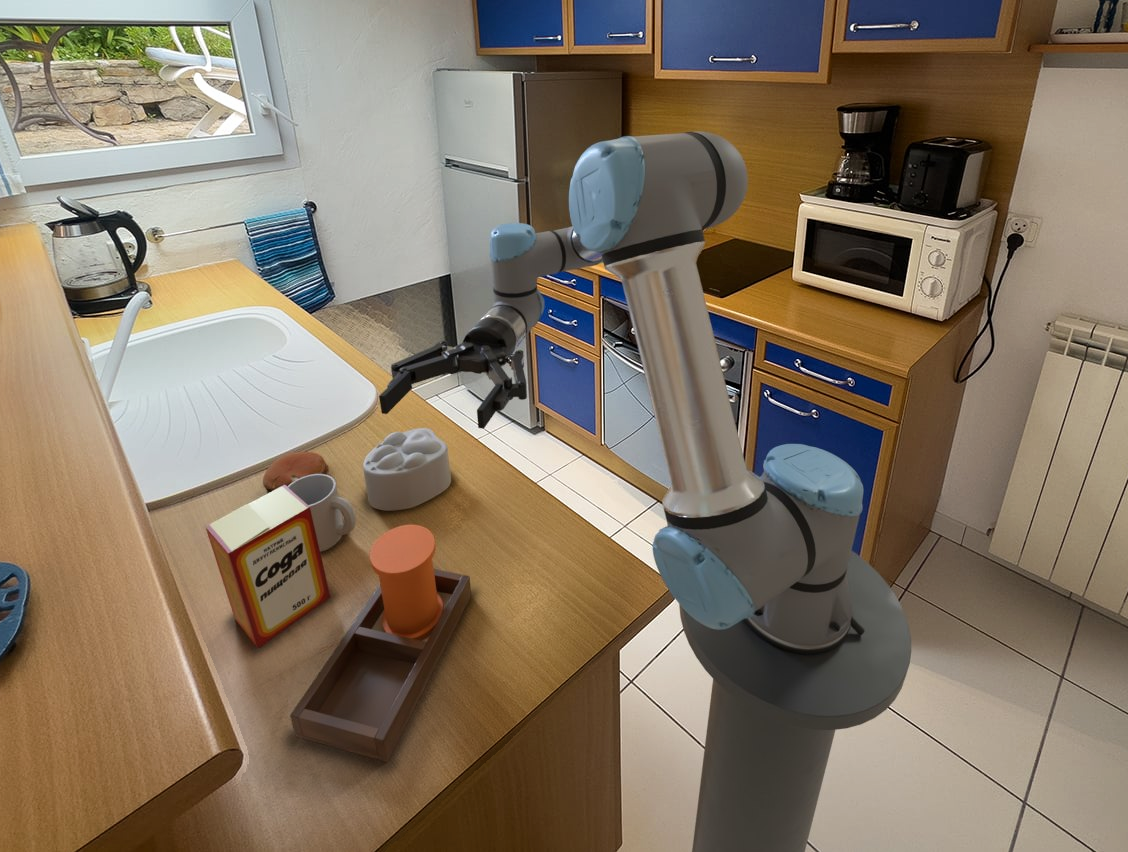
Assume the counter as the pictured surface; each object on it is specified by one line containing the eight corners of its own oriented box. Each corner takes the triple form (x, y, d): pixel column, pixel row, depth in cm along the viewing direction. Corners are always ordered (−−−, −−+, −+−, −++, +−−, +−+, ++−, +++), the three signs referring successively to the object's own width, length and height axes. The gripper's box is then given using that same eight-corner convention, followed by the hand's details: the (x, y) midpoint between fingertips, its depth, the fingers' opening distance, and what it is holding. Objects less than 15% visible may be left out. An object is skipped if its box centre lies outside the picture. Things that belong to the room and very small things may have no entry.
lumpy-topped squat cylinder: (457, 485, 102) (453, 443, 98) (383, 522, 93) (376, 478, 90) (429, 455, 109) (424, 415, 105) (357, 488, 101) (350, 446, 97)
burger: (314, 459, 107) (310, 438, 105) (339, 483, 102) (335, 461, 100) (256, 487, 100) (250, 465, 99) (279, 515, 95) (273, 492, 93)
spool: (453, 598, 80) (445, 530, 75) (426, 650, 73) (415, 578, 69) (402, 587, 81) (391, 519, 77) (370, 637, 75) (356, 566, 70)
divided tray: (471, 595, 81) (469, 575, 80) (387, 762, 63) (382, 740, 61) (398, 580, 84) (395, 560, 82) (295, 736, 65) (289, 715, 63)
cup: (310, 517, 94) (300, 471, 91) (370, 523, 93) (362, 477, 90) (282, 553, 88) (270, 505, 84) (347, 560, 87) (337, 512, 83)
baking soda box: (306, 572, 85) (284, 482, 78) (330, 596, 81) (309, 504, 75) (234, 618, 78) (204, 524, 72) (257, 648, 74) (227, 550, 68)
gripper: (569, 368, 94) (524, 450, 75) (425, 350, 99) (348, 423, 80) (569, 325, 92) (521, 400, 72) (421, 309, 97) (339, 374, 77)
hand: (430, 412), depth 76 cm, fingers open, 13 cm apart
